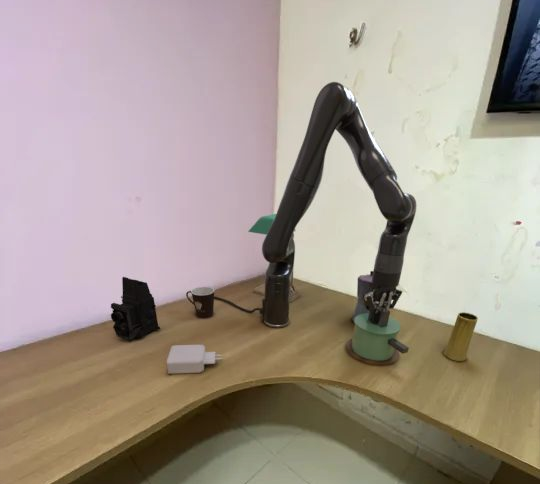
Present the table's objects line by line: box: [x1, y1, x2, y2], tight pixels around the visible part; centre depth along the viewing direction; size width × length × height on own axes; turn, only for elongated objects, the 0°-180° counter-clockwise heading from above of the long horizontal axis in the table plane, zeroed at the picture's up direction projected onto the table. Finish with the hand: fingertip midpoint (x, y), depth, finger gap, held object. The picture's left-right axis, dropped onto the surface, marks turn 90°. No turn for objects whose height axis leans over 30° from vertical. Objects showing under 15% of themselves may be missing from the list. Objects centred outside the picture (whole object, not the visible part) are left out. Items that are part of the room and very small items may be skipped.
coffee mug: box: [185, 286, 215, 319], centre depth 120 cm, size 12×9×10 cm
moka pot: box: [351, 270, 373, 323], centre depth 114 cm, size 10×15×20 cm, turn 174°
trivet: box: [346, 338, 399, 367], centre depth 100 cm, size 16×16×1 cm
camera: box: [110, 276, 161, 341], centre depth 102 cm, size 10×14×20 cm
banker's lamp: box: [247, 213, 301, 303], centre depth 135 cm, size 16×21×35 cm
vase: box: [443, 311, 479, 362], centre depth 95 cm, size 6×6×14 cm
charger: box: [166, 344, 224, 375], centre depth 91 cm, size 5×9×15 cm
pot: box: [351, 305, 410, 361], centre depth 94 cm, size 19×14×15 cm
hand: (377, 321), depth 95 cm, fingers closed on pot, 2 cm apart
